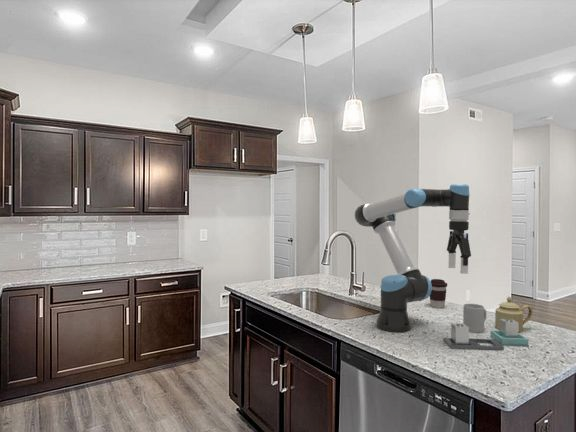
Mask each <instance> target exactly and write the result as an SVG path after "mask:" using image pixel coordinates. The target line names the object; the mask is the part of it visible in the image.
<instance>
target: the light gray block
mask: <svg viewBox="0 0 576 432" xmlns="http://www.w3.org/2000/svg"><path fill="white" fill-rule="evenodd" d="M450 327H451V328H450V338H451V342H452V343H453V344H454V345H469V339H470V338H469V335H470V332H469V327H468V326H466V325H465V324H463V323H455V322H454V323H452V322H451V324H450Z"/></svg>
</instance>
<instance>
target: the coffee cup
mask: <svg viewBox="0 0 576 432" xmlns="http://www.w3.org/2000/svg"><path fill="white" fill-rule="evenodd" d="M430 281H431V284H432V291H431V294H430V296H429V302H430V307H431V308H433V309H443V308H445V306H446V304H445V303H446V299H447V297H446V296H447V287H448V282H445V280H444V279H441V278H440V279H439V278H431V280H430Z"/></svg>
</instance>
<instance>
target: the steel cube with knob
mask: <svg viewBox="0 0 576 432" xmlns="http://www.w3.org/2000/svg"><path fill="white" fill-rule="evenodd" d="M499 331H500V336H501V337H502V338H518V331H519V323H518V322H516V321H515V320H513V319H500V330H499Z"/></svg>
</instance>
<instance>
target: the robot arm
mask: <svg viewBox="0 0 576 432" xmlns="http://www.w3.org/2000/svg"><path fill="white" fill-rule="evenodd" d="M470 194H471V193H470V186H469V184H466V183H454V184H453V183H452V184H450V186H449V189H448V188H447V189H435V188H434V189H431V188H426V189H425V188H417V187H415V188H410V189H408V190H407V191H406V192H405V193H402V194H399V195H396V196H392V197H389V198H386V199H384V200H380V201H377V202H373V203H370V202H367V203H365V204H361V205H358V207H357V208H356V209H355V211H354V219H355V221H356V222H357V223H358V225H360V226H362V227H368V228H369V227H370V228H371V227H372V229H373V232H374V233H375V234H378V236H379V237H380V240H381V242H382V244H383V245H384V247H385V250H386V251H387V254H388V256H389V258H390V260H391V262H392V265H393V267H394V269H395V271H396V273H397V274H390V275H385V276H384V277H382V278H381V281H380V282H381V283H380V310H379V314H378V316H377V319H376V327H377V328H379V329H380V330H382V331H386V332H393V333H404V332H408V331H410V330H411V329H412V327H411V325H412V324H411V321H410V317H409V314H408V304H409V303H412V302H413V303H414V302H422V301H424V300H426V299H427V300H428V299H429V298H430V294H431V291H432V284H431V280H430V278H429V277H428V276H426V275H423V274H422V273H421V271H420V269H419V268H418V267H417V268H416V267H415V266H414V264H413V262H412V260H411V258H410V256H409V254H408V252H407V250H406V248H405V246H404V244H403V242H402V240H401V238H400V236H399V234H398V232H397V230H396V228H395V226H396V221H397V220H396V219H397V218H396V217H397V214H398V213H402V212H405V211H409V210H413V209H416V208H419V207H433V208H435V207H448V208H449V211H448V216H449V217H448V219H449V221H448V225H449V226H448V228H449V237H448V242H447V246H446V251H447V252H448V269H456V255H457V252H456V251H457V248H458V247H459V251H460V257H459V258H460V269H459V270H460V272H459V273H460V274H461V275H463V274H468V275H469V258H471V257H472V253H471V252H472V251H471V247H470V246H471V245H470V242H469V241H470V240H469V233H468V232H465V231H468V230H469V228H470V227H469V223H470V222H469V221H468V220H469V216H470V215H471V214H470V211H469V208H470Z"/></svg>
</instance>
